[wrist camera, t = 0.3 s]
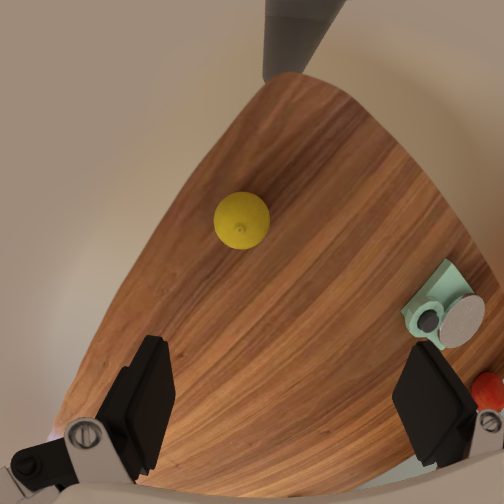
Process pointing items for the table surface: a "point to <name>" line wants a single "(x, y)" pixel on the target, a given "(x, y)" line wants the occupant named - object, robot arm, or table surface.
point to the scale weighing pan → (461, 320)
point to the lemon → (241, 220)
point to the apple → (488, 392)
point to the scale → (435, 298)
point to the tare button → (428, 321)
